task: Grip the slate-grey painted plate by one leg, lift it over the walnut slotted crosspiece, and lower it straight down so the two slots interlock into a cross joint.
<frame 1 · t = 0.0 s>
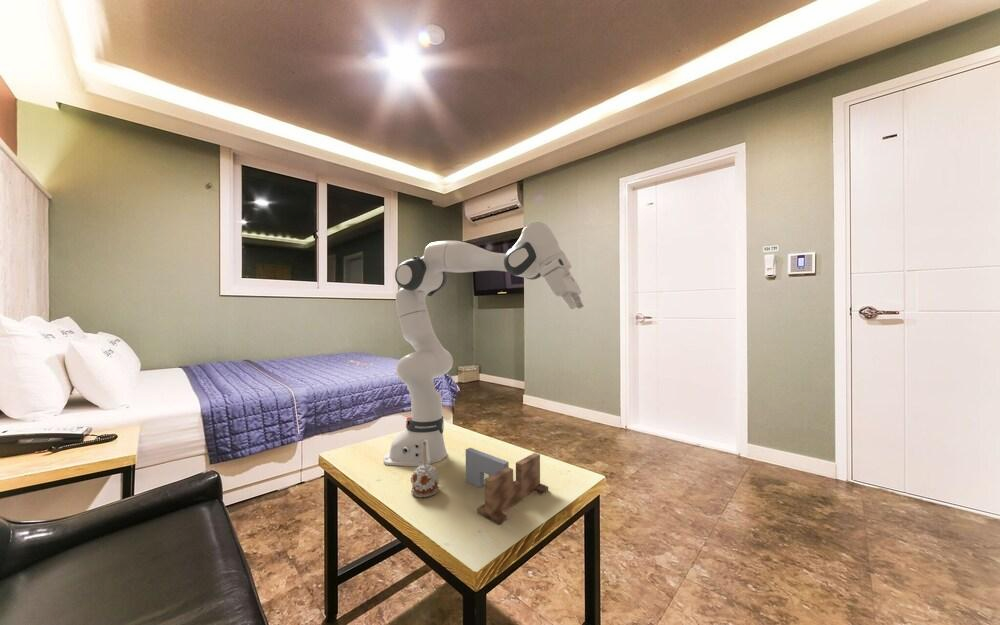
hand: (577, 308, 107), 54 cm above the table, tool tilted 30°, fingers open, 8 cm apart
decorative ornament: (425, 492, 106), on the table
grey plate: (486, 488, 108), on the table
walnut crosspiece: (514, 501, 100), on the table
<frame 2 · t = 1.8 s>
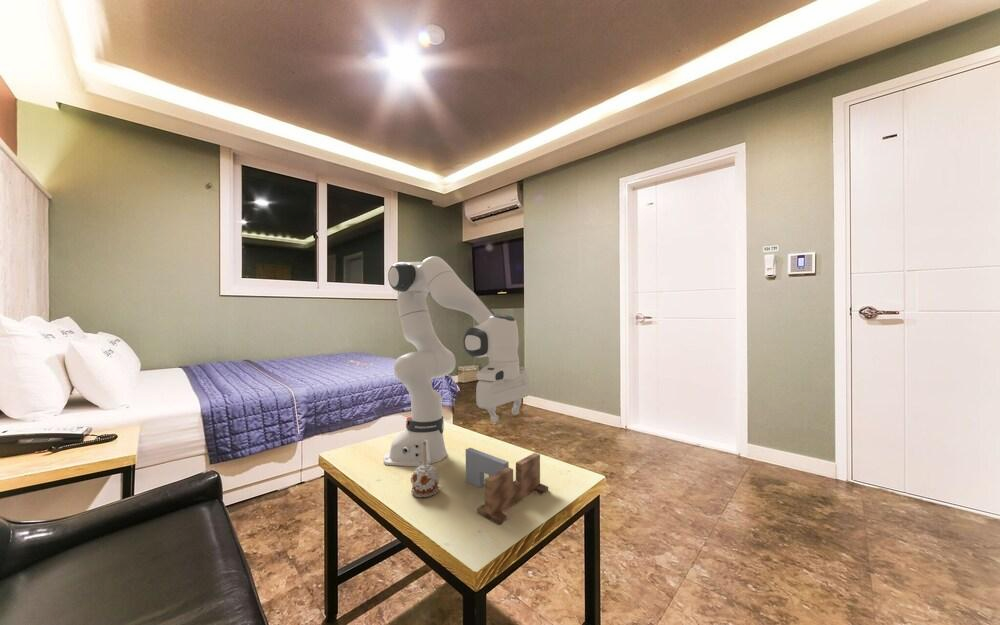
hand: (505, 417, 103), 23 cm above the table, tool pointing down, fingers open, 8 cm apart
nothing on the table moved.
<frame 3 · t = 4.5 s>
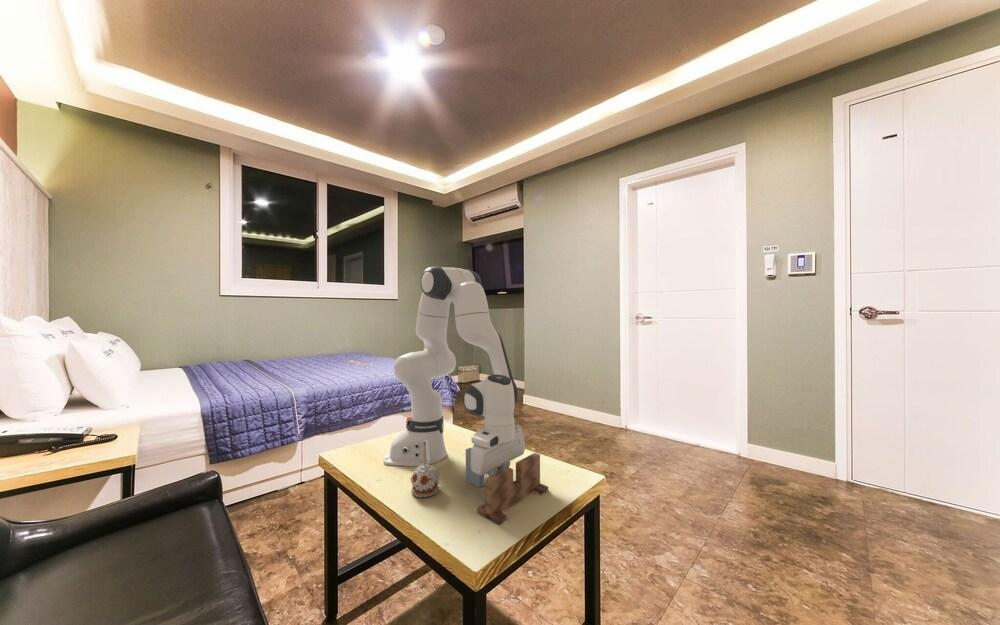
hand: (499, 478, 104), 5 cm above the table, tool pointing down, fingers closed on grey plate, 2 cm apart
grey plate: (486, 488, 108), on the table, touching gripper
everything else where it was.
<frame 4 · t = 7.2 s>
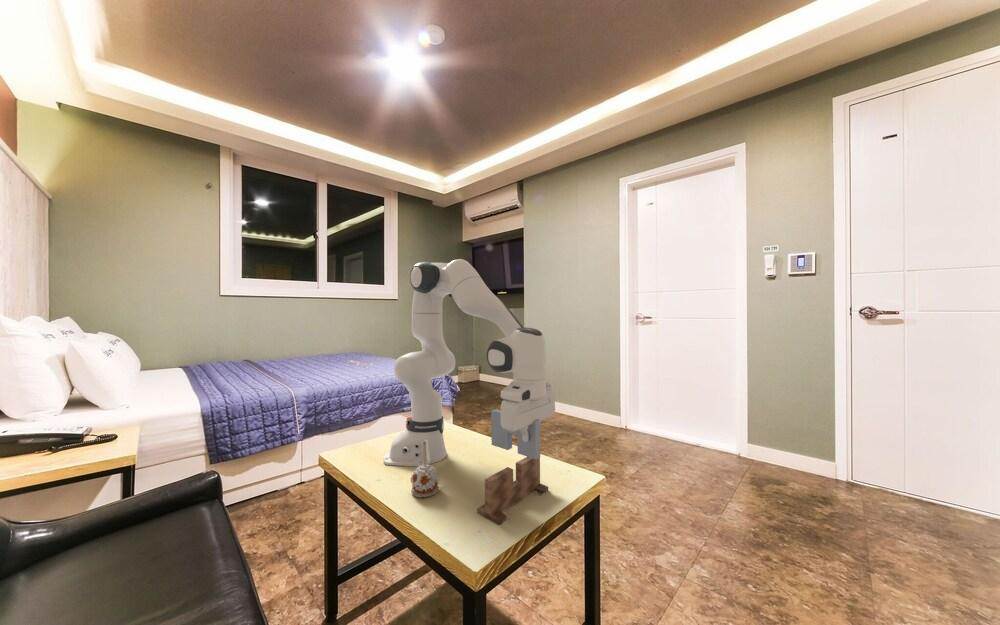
hand: (530, 438, 96), 19 cm above the table, tool pointing down, fingers closed on grey plate
grey plate: (514, 450, 100), point 14 cm above the table, touching gripper
everything else where it was.
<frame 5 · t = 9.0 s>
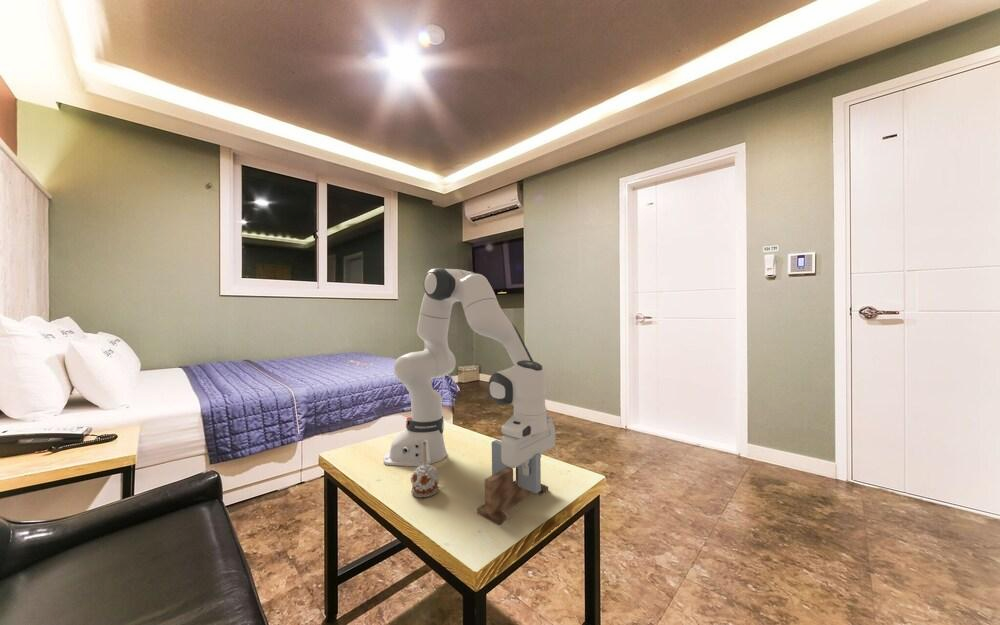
hand: (530, 472, 96), 10 cm above the table, tool pointing down, fingers closed on grey plate
grey plate: (515, 482, 100), point 5 cm above the table, touching gripper
everything else where it was.
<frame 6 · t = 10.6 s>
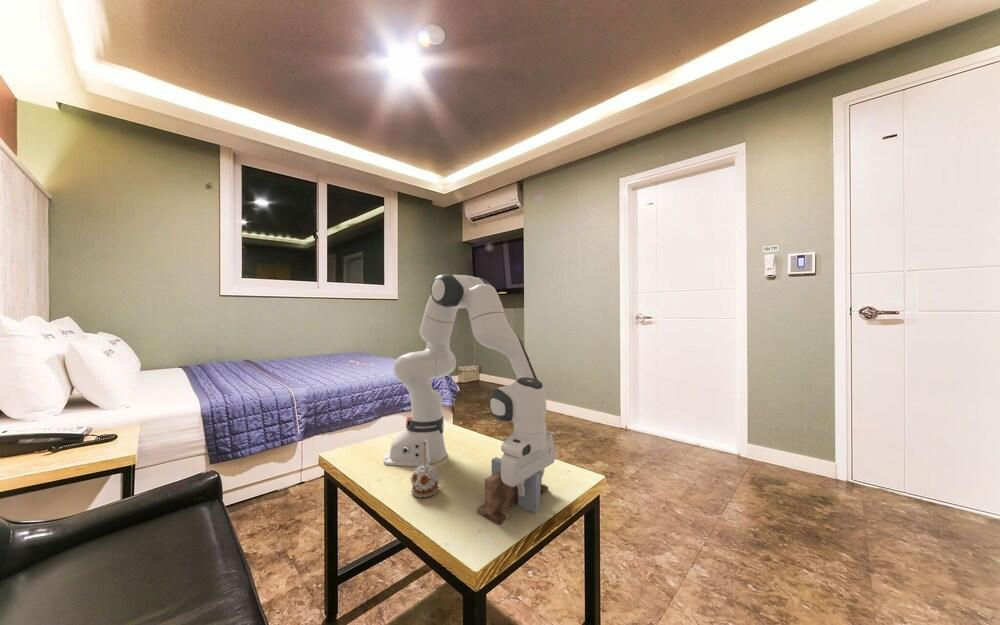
hand: (530, 489, 97), 5 cm above the table, tool pointing down, fingers open, 5 cm apart
grey plate: (515, 501, 100), on the table, touching walnut crosspiece
everything else where it was.
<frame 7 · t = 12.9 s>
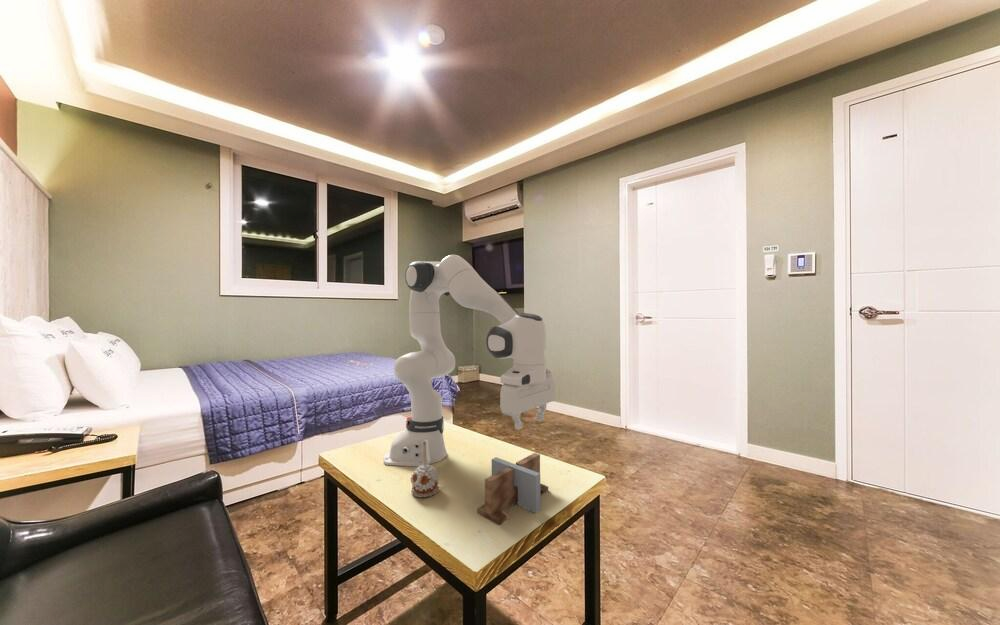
hand: (529, 424, 96), 23 cm above the table, tool pointing down, fingers open, 8 cm apart
nothing on the table moved.
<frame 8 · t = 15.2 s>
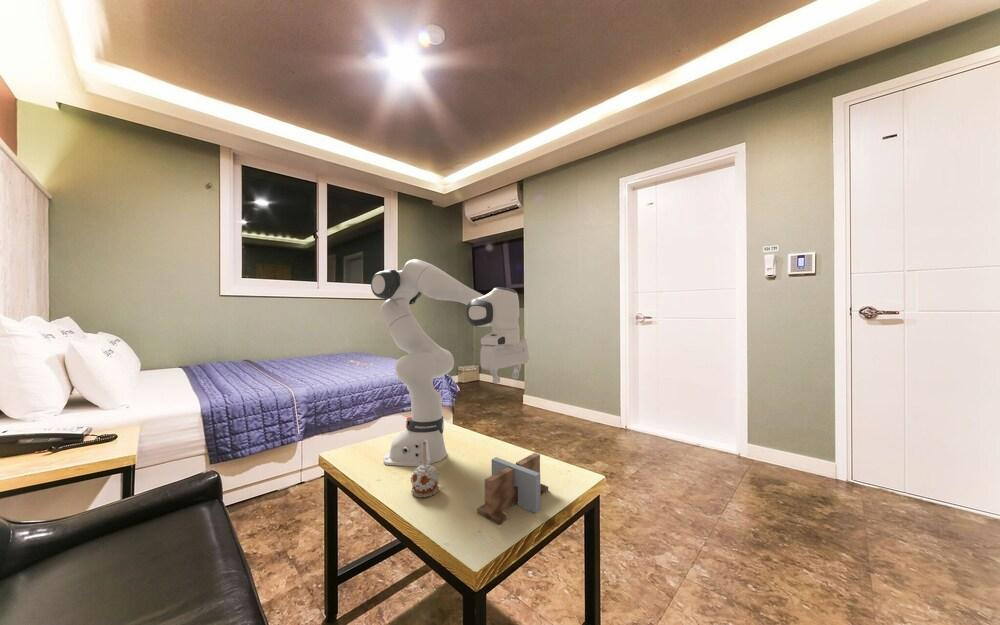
hand: (506, 380, 115), 31 cm above the table, tool pointing down, fingers open, 8 cm apart
nothing on the table moved.
at the end: grey plate 0.1 cm off-centre on the walnut crosspiece, point 0.0 cm above the walnut crosspiece's base; grey plate tilted 0°; the gripper is holding nothing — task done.
